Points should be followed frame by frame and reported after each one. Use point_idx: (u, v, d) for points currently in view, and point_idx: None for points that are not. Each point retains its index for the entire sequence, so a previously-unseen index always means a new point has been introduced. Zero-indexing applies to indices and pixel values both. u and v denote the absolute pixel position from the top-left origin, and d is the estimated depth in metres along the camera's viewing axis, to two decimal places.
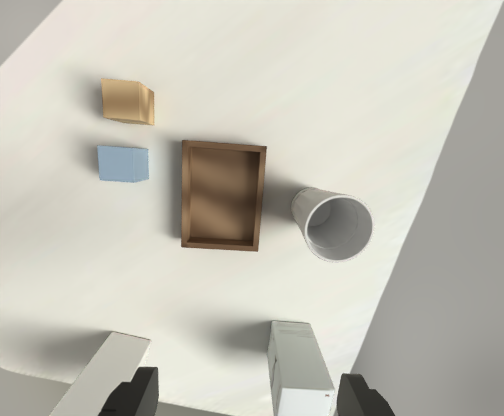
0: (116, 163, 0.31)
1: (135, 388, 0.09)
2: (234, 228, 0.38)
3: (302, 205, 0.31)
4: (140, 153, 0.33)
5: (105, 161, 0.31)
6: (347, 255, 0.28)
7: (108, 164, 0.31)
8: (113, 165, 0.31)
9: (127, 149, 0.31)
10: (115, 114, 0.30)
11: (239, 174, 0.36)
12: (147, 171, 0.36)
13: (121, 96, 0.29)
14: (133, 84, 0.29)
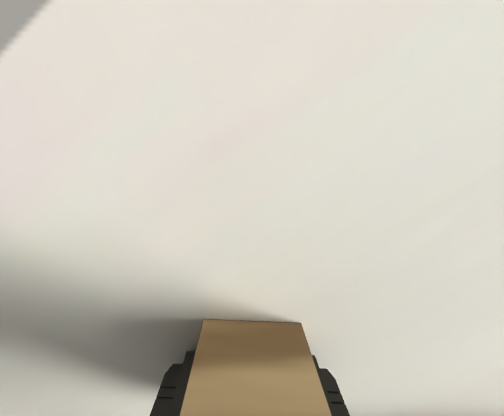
0: None
1: (188, 368, 0.10)
2: None
3: None
4: None
5: None
6: None
7: None
8: None
9: None
10: None
11: None
12: None
13: None
14: None
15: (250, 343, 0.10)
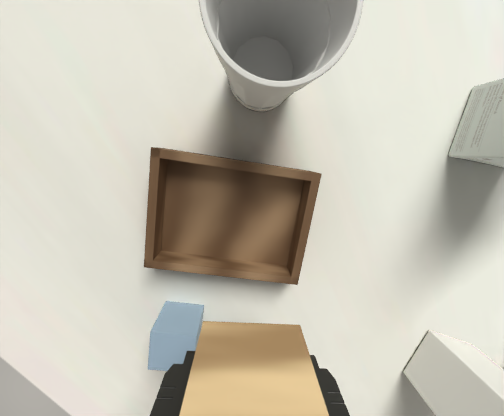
0: (170, 351, 0.24)
1: (189, 368, 0.10)
2: (281, 204, 0.25)
3: (241, 90, 0.17)
4: (164, 316, 0.25)
5: (168, 363, 0.24)
6: None
7: (172, 361, 0.24)
8: (173, 356, 0.24)
9: (152, 337, 0.23)
10: None
11: (201, 190, 0.24)
12: (193, 306, 0.28)
13: None
14: None
15: (249, 345, 0.10)
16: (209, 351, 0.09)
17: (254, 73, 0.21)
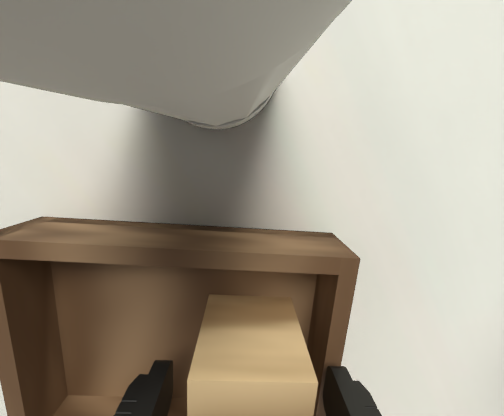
0: None
1: (153, 380, 0.09)
2: None
3: None
4: None
5: None
6: None
7: None
8: None
9: None
10: None
11: (122, 290, 0.13)
12: None
13: None
14: (300, 390, 0.08)
15: (248, 311, 0.12)
16: (215, 315, 0.11)
17: None
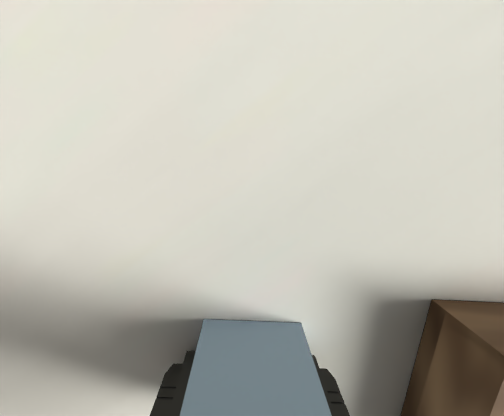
0: None
1: (189, 368, 0.10)
2: None
3: None
4: None
5: None
6: None
7: None
8: None
9: None
10: None
11: None
12: None
13: None
14: None
15: None
16: None
17: None
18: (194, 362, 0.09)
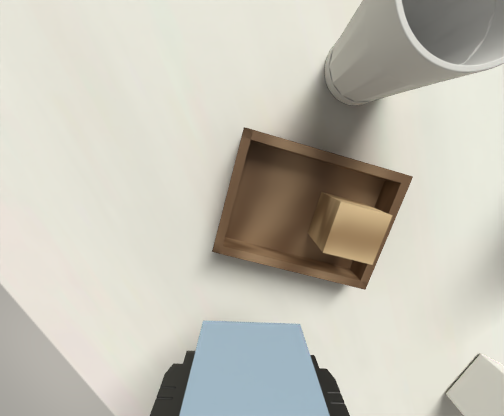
0: None
1: (189, 368, 0.10)
2: None
3: (367, 76, 0.16)
4: None
5: None
6: None
7: None
8: None
9: None
10: (340, 252, 0.20)
11: (277, 179, 0.23)
12: None
13: (359, 230, 0.19)
14: (384, 217, 0.19)
15: (346, 199, 0.23)
16: (332, 196, 0.22)
17: None
18: (193, 364, 0.09)
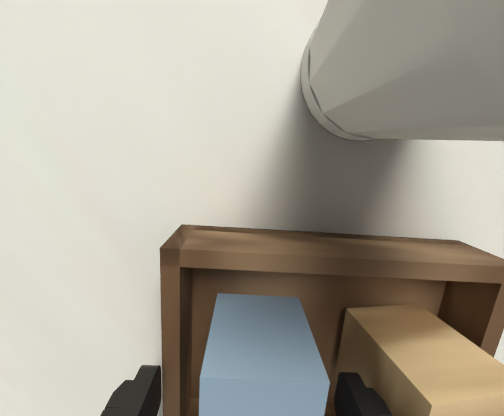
0: None
1: (139, 386, 0.09)
2: None
3: (425, 116, 0.05)
4: None
5: None
6: None
7: None
8: None
9: (309, 386, 0.08)
10: None
11: None
12: None
13: None
14: None
15: (400, 322, 0.12)
16: (376, 330, 0.11)
17: None
18: (212, 322, 0.11)
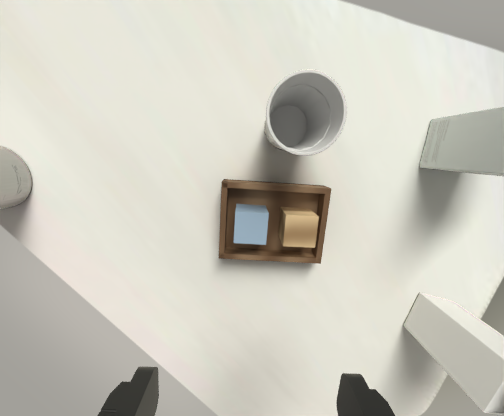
0: (251, 227, 0.32)
1: (135, 388, 0.09)
2: None
3: None
4: None
5: (241, 225, 0.32)
6: (339, 99, 0.23)
7: (243, 228, 0.32)
8: (248, 229, 0.32)
9: (263, 214, 0.32)
10: (293, 243, 0.33)
11: (250, 204, 0.36)
12: None
13: (301, 229, 0.32)
14: (314, 218, 0.32)
15: (295, 209, 0.35)
16: (285, 209, 0.35)
17: (282, 128, 0.33)
18: (236, 207, 0.34)
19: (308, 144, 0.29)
